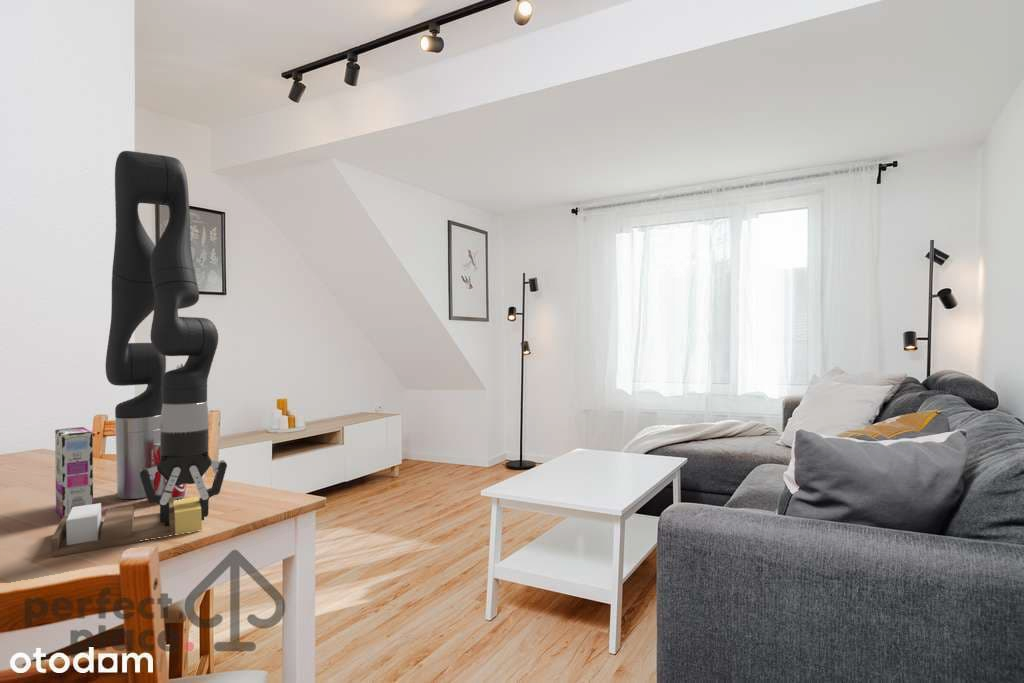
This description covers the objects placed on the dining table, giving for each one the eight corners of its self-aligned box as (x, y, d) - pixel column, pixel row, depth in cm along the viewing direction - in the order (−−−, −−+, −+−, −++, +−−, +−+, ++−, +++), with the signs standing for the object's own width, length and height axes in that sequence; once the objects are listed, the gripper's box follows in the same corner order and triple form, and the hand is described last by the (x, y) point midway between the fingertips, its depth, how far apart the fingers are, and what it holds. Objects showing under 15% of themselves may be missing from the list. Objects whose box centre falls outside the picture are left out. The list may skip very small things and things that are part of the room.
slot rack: (63, 532, 100) (63, 516, 100) (173, 514, 109) (172, 500, 109) (51, 557, 88) (51, 539, 88) (175, 535, 97) (174, 519, 97)
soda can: (185, 492, 125) (183, 438, 125) (188, 499, 120) (187, 442, 120) (151, 498, 121) (150, 442, 121) (153, 504, 116) (152, 446, 116)
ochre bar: (174, 521, 105) (173, 500, 105) (198, 517, 107) (198, 496, 107) (175, 535, 97) (174, 512, 97) (201, 531, 99) (201, 508, 99)
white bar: (73, 529, 99) (72, 507, 99) (101, 525, 101) (101, 503, 101) (66, 545, 91) (66, 520, 91) (97, 540, 93) (97, 515, 93)
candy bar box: (95, 516, 109) (93, 431, 109) (62, 522, 106) (60, 434, 105) (86, 505, 117) (84, 425, 117) (55, 510, 114) (53, 428, 113)
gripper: (227, 422, 109) (226, 510, 109) (138, 427, 102) (137, 523, 101) (231, 427, 103) (230, 521, 103) (136, 433, 95) (135, 535, 95)
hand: (184, 521), depth 102 cm, fingers open, 4 cm apart
